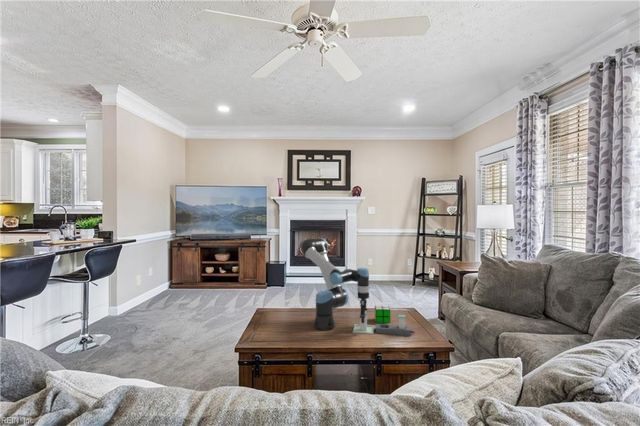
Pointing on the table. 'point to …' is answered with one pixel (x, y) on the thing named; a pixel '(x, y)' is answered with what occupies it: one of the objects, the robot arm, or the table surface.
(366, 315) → the plug
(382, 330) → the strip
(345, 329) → the table surface
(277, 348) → the table surface
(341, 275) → the robot arm
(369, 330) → the tray
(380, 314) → the puzzle cube
